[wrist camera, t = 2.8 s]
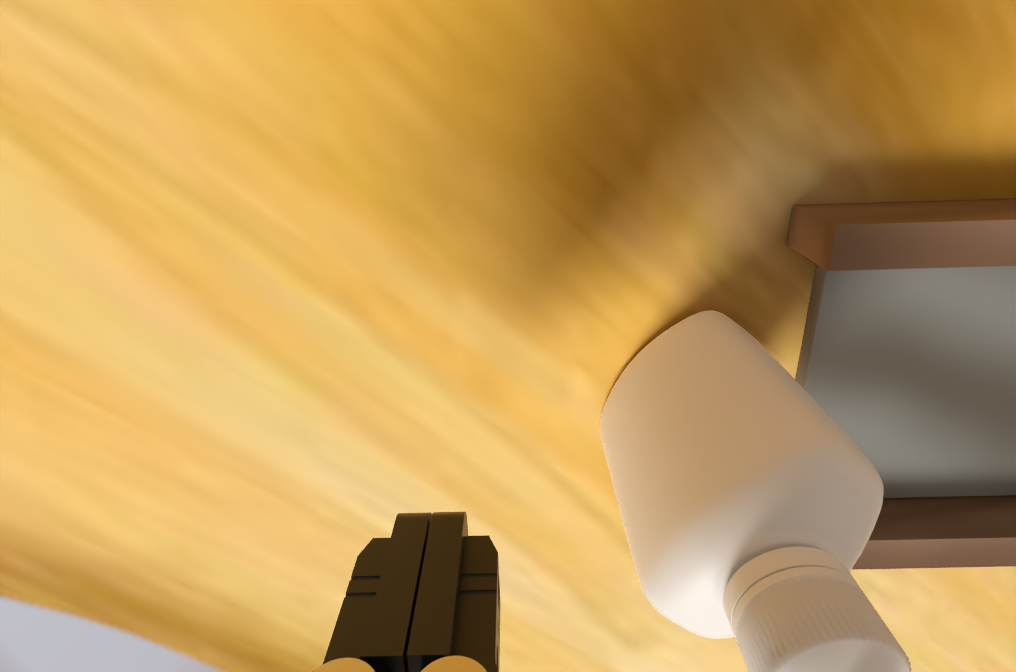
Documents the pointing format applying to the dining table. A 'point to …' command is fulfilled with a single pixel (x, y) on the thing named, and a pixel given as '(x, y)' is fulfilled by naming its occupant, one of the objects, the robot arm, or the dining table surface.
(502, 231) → the dining table surface
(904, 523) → the u rest
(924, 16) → the dining table surface
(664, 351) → the eye dropper bottle
